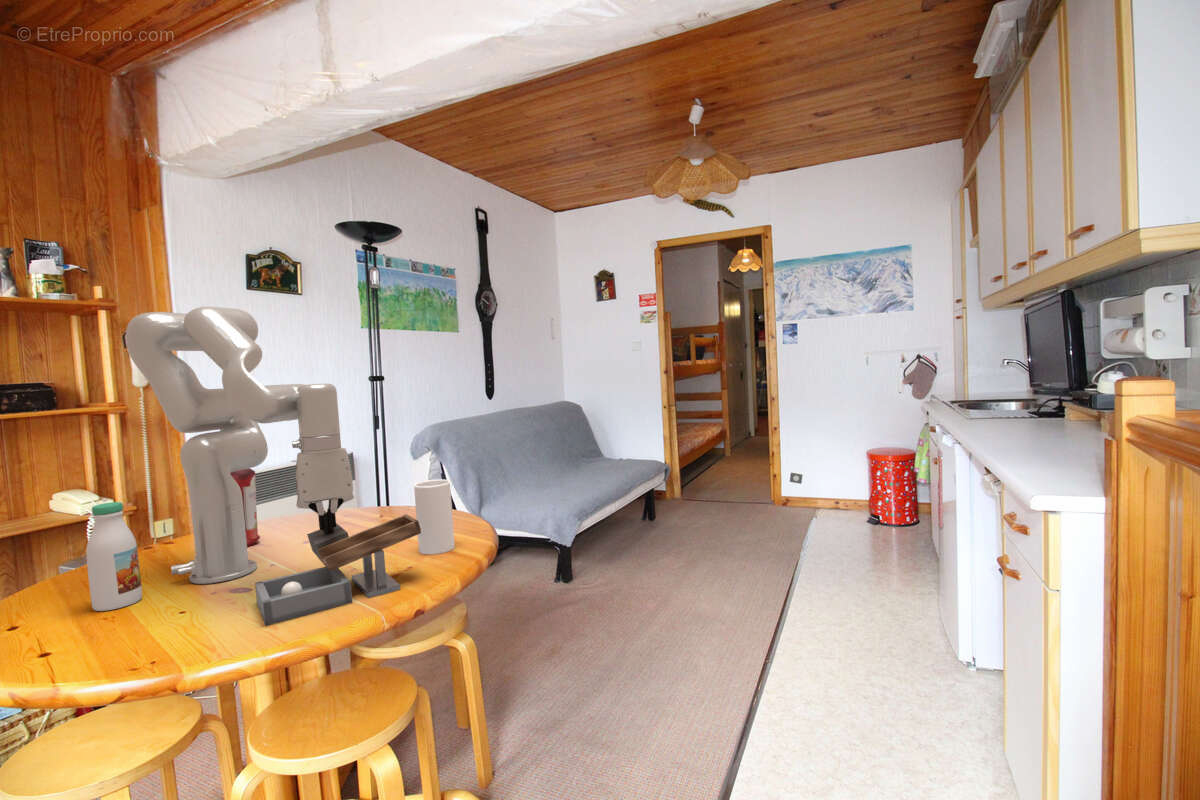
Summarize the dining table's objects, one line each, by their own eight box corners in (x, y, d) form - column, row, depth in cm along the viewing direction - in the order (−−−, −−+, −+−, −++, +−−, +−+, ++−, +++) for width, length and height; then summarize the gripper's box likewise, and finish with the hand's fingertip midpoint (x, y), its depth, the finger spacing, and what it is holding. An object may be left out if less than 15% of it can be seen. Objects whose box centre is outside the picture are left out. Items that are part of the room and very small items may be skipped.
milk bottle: (101, 615, 110) (89, 510, 109) (85, 608, 114) (74, 507, 113) (149, 600, 116) (139, 501, 115) (133, 593, 120) (123, 498, 119)
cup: (449, 553, 135) (444, 485, 134) (414, 555, 136) (408, 487, 135) (458, 542, 144) (453, 478, 143) (425, 544, 144) (420, 480, 143)
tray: (265, 625, 101) (263, 603, 100) (257, 603, 111) (255, 582, 111) (352, 602, 109) (350, 581, 109) (336, 583, 120) (335, 564, 119)
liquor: (235, 542, 155) (225, 438, 154) (265, 539, 157) (255, 435, 155) (224, 550, 148) (213, 441, 147) (256, 547, 150) (246, 438, 148)
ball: (292, 607, 108) (278, 596, 106) (289, 601, 110) (275, 591, 109) (308, 591, 109) (293, 580, 108) (304, 586, 112) (290, 575, 110)
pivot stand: (368, 598, 111) (364, 556, 110) (351, 580, 121) (348, 542, 121) (400, 589, 114) (397, 549, 114) (381, 572, 125) (378, 535, 124)
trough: (395, 517, 134) (391, 502, 133) (421, 533, 119) (416, 516, 119) (312, 550, 124) (307, 534, 123) (330, 572, 109) (324, 553, 108)
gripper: (282, 450, 112) (290, 544, 113) (363, 441, 121) (370, 528, 122) (277, 447, 118) (285, 536, 119) (355, 438, 127) (361, 521, 128)
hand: (328, 531), depth 121 cm, fingers closed
